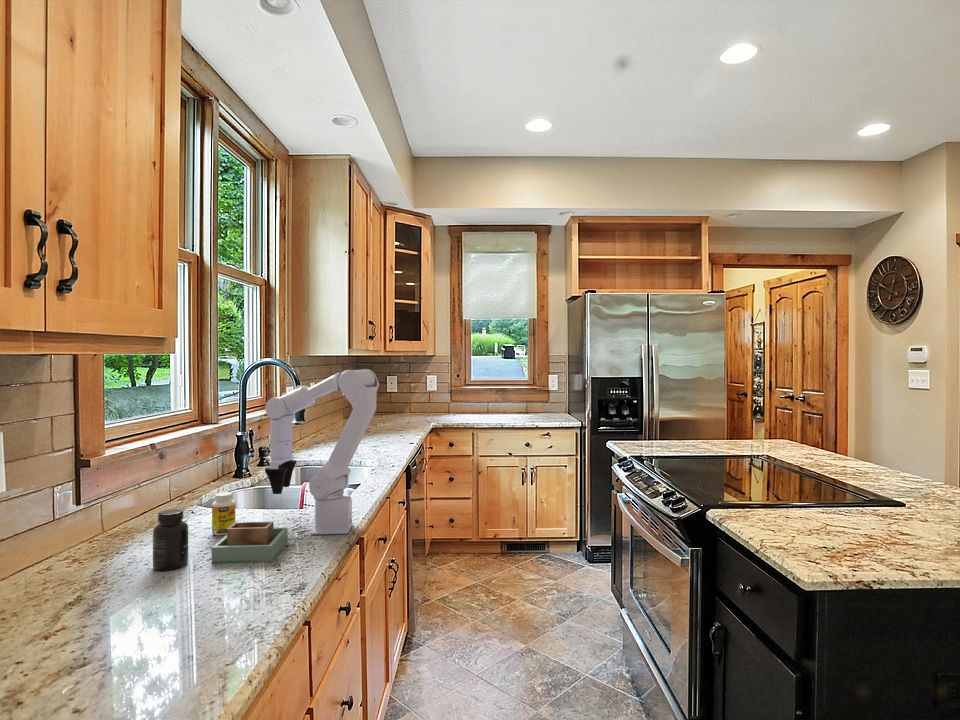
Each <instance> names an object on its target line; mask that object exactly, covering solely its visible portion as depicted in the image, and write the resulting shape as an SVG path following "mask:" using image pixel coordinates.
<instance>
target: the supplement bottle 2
mask: <svg viewBox="0 0 960 720" xmlns="http://www.w3.org/2000/svg"><path fill="white" fill-rule="evenodd" d="M214 496H215V497H214V499H215V500H214V501H213V502H212V504H211V534H212V535H213V536H218V537H219V536H223V537H224V536H226V535H227V528H229V527H230V526H231V525H232V524H234V523H235V522H236V501H235V500H234V499H233V493H232V492H230V491H228V492H227V491H226V492H224V491H223V492H218V493H216V494H215V495H214Z"/></svg>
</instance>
